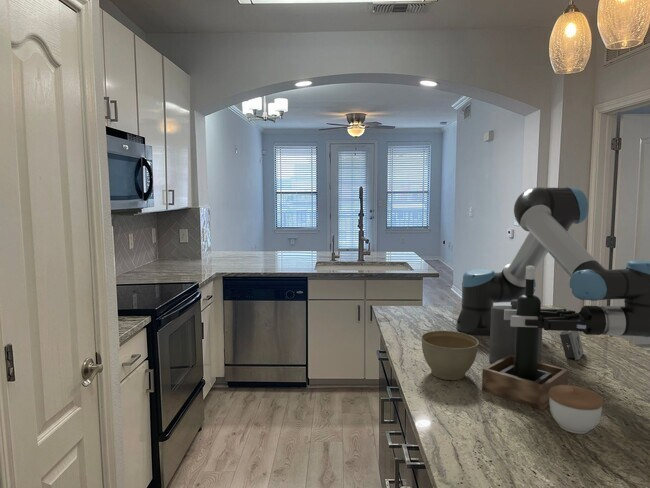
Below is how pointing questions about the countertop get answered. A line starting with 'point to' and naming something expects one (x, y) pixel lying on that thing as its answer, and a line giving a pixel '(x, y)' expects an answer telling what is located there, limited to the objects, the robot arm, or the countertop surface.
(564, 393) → the lidded jar
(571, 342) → the electrical switch
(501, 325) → the flask
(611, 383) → the countertop surface
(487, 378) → the crate
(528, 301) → the wine bottle
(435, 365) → the planter bowl
